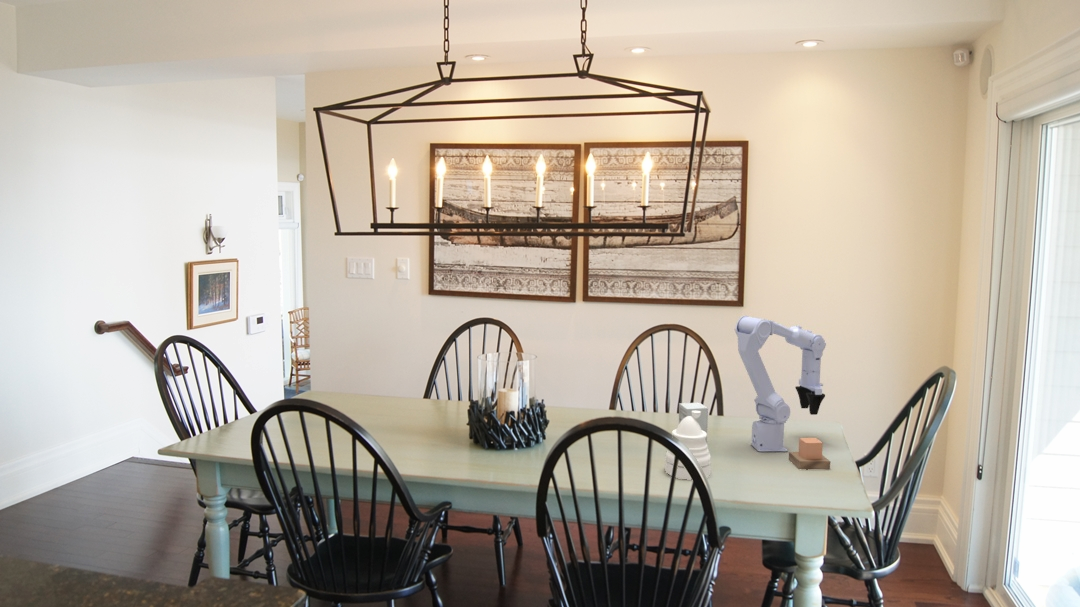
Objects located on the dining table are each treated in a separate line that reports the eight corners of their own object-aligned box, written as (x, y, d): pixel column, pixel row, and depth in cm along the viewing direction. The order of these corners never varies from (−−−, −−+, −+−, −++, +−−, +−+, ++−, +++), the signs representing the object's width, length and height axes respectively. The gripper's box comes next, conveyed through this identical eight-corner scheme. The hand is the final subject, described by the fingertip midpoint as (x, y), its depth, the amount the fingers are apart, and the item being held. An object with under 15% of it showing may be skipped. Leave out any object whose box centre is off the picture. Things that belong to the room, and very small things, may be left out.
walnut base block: (799, 471, 223) (799, 461, 223) (788, 461, 232) (789, 451, 232) (829, 471, 224) (830, 461, 223) (817, 461, 233) (818, 451, 232)
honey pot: (701, 464, 228) (703, 405, 226) (717, 479, 215) (719, 417, 213) (659, 466, 226) (661, 406, 224) (673, 481, 213) (675, 418, 211)
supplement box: (698, 439, 253) (699, 401, 251) (707, 445, 246) (708, 407, 244) (677, 440, 252) (678, 402, 250) (685, 447, 244) (686, 408, 243)
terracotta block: (805, 459, 225) (806, 443, 224) (798, 454, 230) (799, 438, 229) (821, 459, 225) (822, 442, 225) (814, 453, 230) (815, 437, 230)
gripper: (832, 375, 240) (830, 417, 242) (814, 365, 255) (812, 405, 256) (810, 375, 240) (808, 417, 242) (793, 365, 254) (791, 405, 256)
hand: (809, 411), depth 249 cm, fingers open, 7 cm apart
